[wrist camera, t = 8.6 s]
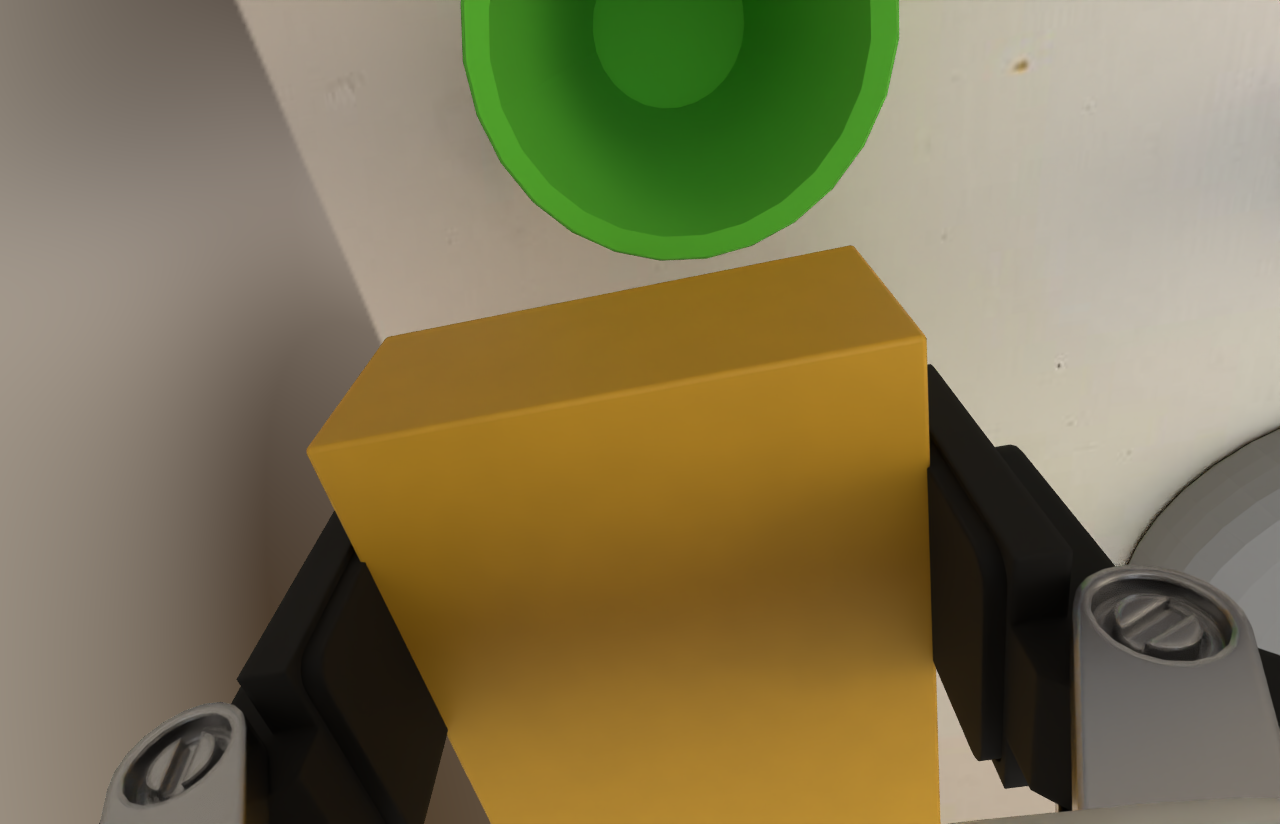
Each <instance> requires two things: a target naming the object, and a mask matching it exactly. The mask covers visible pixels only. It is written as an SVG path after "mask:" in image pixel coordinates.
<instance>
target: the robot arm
mask: <svg viewBox="0 0 1280 824" xmlns="http://www.w3.org/2000/svg"><path fill="white" fill-rule="evenodd" d="M927 374H928V409H929V444H930V467H928V468H927V484H928V516H929V549H930V581H931V614H932V646H933V662H934V664H935V667H936V669H937V671H938V674H939V676H940V678H941V681H942V683H943V685H944V688H945V690H946V693H947V695H948V697H949V700H950V702H951V704H952V707H953V709H954V711H955V714H956V716H957V718H958V721H959V723H960V725H961V728H962V730H963V732H964V735H965V737H966V739H967V742H968V744H969V746H970V749H971V751H972V753H973V755H974V756H975V758H976V759H977V760H978V761H984V760H992V762H993V764H994V766H995V768H996V770H997V773H998V775H999V777H1000V779H1001V782H1002V784H1003V786H1004V788H1005V789H1006V788H1015V787H1023V786H1029V788H1030V790H1032V791H1034V792H1036V793H1038V794H1040V795H1042V796H1043V797H1045V798H1047V799H1049V800H1051V801H1053V802H1055V813H1046V814H1036V815H1025V816H1015V817H1005V818H995V819H985V820H976V821H968V822H959V823H950V824H1280V655H1278V654H1275V653H1272V652H1269V651H1266V650H1263V649H1260V648H1258V646H1257V643H1256V639H1255V635H1254V631H1253V628H1252V626H1251V624H1250V622H1249V620H1248V618H1247V616H1246V614H1245V612H1244V610H1243V609H1242V608H1241V607H1240V606H1239V605H1238V604H1237V603H1236V602H1235V601H1234V600H1233V599H1231V598H1230V597H1229V596H1228V595H1227V594H1226V593H1225V592H1223V591H1221V590H1220V589H1218V588H1216V587H1215V586H1213V585H1211V584H1210V583H1208V582H1206V581H1205V580H1203V579H1200V578H1197V577H1195V576H1192V575H1189V574H1187V573H1184V572H1181V571H1179V570H1174V569H1169V568H1164V567H1159V566H1154V565H1122V566H1116V567H1115V565H1114V564H1113V563H1112V562H1111V560H1110V559H1109V558H1108V557H1107V556H1106V554H1105V553H1104V552H1103V551H1102V549H1101V548H1100V547H1099V546H1098V544H1097V543H1096V542H1095V541H1094V539H1093V538H1092V537H1091V536H1090V535H1089V533H1088V532H1087V531H1086V530H1085V528H1084V527H1083V526H1082V525H1081V523H1080V522H1079V521H1078V520H1077V518H1076V517H1075V516H1074V515H1073V514H1072V512H1071V511H1070V510H1069V509H1068V507H1067V506H1066V505H1065V504H1064V502H1063V501H1062V500H1061V499H1060V497H1059V496H1058V495H1057V494H1056V493H1055V491H1054V490H1053V489H1052V488H1051V486H1050V485H1049V484H1048V483H1047V481H1046V480H1045V479H1044V478H1043V476H1042V475H1041V474H1040V473H1039V472H1038V470H1037V469H1036V468H1035V467H1034V465H1033V464H1032V463H1031V462H1030V460H1029V459H1028V458H1027V457H1026V455H1025V454H1024V453H1023V452H1022V451H1021V450H1020V449H1019V448H1018V447H1017V446H1014V445H1005V446H999V447H994V446H993V444H992V443H991V442H990V440H989V439H988V438H987V436H986V435H985V434H984V433H983V431H982V430H981V429H980V427H979V426H978V425H977V423H976V422H975V421H974V419H973V418H972V417H971V415H970V414H969V413H968V411H967V410H966V409H965V407H964V406H963V405H962V404H961V402H960V401H959V400H958V398H957V397H956V396H955V394H954V393H953V392H952V390H951V389H950V388H949V386H948V385H947V384H946V382H945V381H944V380H943V378H942V377H941V376H940V374H939V373H938V372H937V371H936V369H935V368H934V367H933V366H932V365H931V364H928V365H927ZM237 680H238V682H239V684H240V685H241V687H240V689H239V691H238V693H237V694H236V696H235V698H234V700H233V701H232V703H231V704H227V703H223V702H218V703H209V704H203V705H200V706H197V707H194V708H191V709H188V710H186V711H183V712H181V713H179V714H178V715H176V716H174V717H172V718H171V719H168V720H167V721H165V722H163V723H162V724H161V725H159V726H158V727H157V728H155V729H154V730H152V731H151V732H150V733H148V734H147V735H146V736H144V737H143V739H141V740H140V742H138V744H137V745H135V747H134V748H133V749H132V750H130V752H129V753H128V754H127V755H126V756H125V758H124V759H123V760H122V762H121V763H120V765H119V766H118V768H117V769H116V770H115V772H114V774H113V777H112V779H111V782H110V784H109V787H108V789H107V794H106V798H105V803H104V807H103V812H102V816H101V820H100V823H99V824H424V821H425V818H426V813H427V810H428V806H429V802H430V798H431V794H432V791H433V787H434V783H435V779H436V775H437V771H438V767H439V763H440V759H441V756H442V752H443V748H444V744H445V740H446V736H447V732H448V728H447V726H446V724H445V722H444V720H443V718H442V716H441V714H440V712H439V710H438V708H437V706H436V704H435V702H434V700H433V698H432V696H431V694H430V692H429V690H428V688H427V686H426V684H425V682H424V680H423V678H422V676H421V674H420V672H419V670H418V668H417V666H416V664H415V662H414V660H413V658H412V656H411V654H410V652H409V650H408V648H407V646H406V644H405V642H404V640H403V638H402V636H401V634H400V631H399V629H398V627H397V625H396V623H395V621H394V619H393V617H392V615H391V613H390V611H389V609H388V607H387V605H386V603H385V601H384V599H383V597H382V595H381V593H380V591H379V589H378V587H377V585H376V583H375V581H374V579H373V577H372V575H371V573H370V571H369V569H368V567H367V565H366V563H365V562H360V560H359V558H358V556H357V554H356V552H355V550H354V548H353V546H352V544H351V542H350V540H349V538H348V536H347V534H346V532H345V530H344V528H343V526H342V524H341V522H340V520H339V518H338V516H337V514H336V512H335V511H334V512H333V514H332V516H331V518H330V519H329V521H328V523H327V525H326V526H325V528H324V530H323V531H322V533H321V535H320V536H319V538H318V540H317V542H316V544H315V545H314V547H313V549H312V550H311V552H310V554H309V555H308V557H307V559H306V561H305V562H304V564H303V566H302V568H301V569H300V571H299V573H298V575H297V576H296V578H295V580H294V581H293V583H292V585H291V586H290V588H289V590H288V592H287V593H286V595H285V597H284V599H283V600H282V602H281V604H280V606H279V607H278V609H277V611H276V612H275V614H274V616H273V618H272V619H271V621H270V623H269V624H268V626H267V628H266V630H265V631H264V633H263V635H262V636H261V638H260V640H259V642H258V644H257V645H256V647H255V649H254V650H253V652H252V654H251V656H250V658H249V659H248V661H247V662H246V664H245V666H244V667H243V669H242V671H241V673H240V674H239V676H238V678H237Z"/></svg>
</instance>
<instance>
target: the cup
mask: <svg viewBox="0 0 1280 824" xmlns="http://www.w3.org/2000/svg"><path fill="white" fill-rule="evenodd" d="M461 24H462V52H463V64H464V67H465V71H466V75H467V79H468V83H469V87H470V91H471V95H472V98H473V102H474V106H475V110H476V114H477V117H478V119H479V121H480V123H481V125H482V127H483V129H484V131H485V133H486V134H487V136H488V138H489V140H490V142H491V144H492V146H493V148H494V150H495V152H496V154H497V156H498V158H499V160H500V162H501V164H502V165H503V166H504V167H505V169H506V170H507V171H508V172H509V174H510V175H511V176H512V177H513V178H514V180H515V181H516V182H517V183H518V184H519V186H520V187H521V188H522V189H523V191H524V192H525V193H526V194H527V195H528V197H529V198H530V199H531V200H532V201H533V203H535V204H536V205H537V206H539V207H540V208H541V209H542V210H544V211H545V212H546V213H548V214H549V215H550V216H552V217H553V218H554V219H555V220H557V221H558V222H559V223H561V224H562V225H563V226H564V227H566V228H567V229H568V230H570V231H571V232H572V233H575V234H577V235H579V236H581V237H584V238H586V239H588V240H590V241H592V242H595V243H597V244H599V245H601V246H603V247H606V248H608V249H610V250H612V251H614V252H619V253H624V254H629V255H634V256H640V257H645V258H650V259H655V260H660V261H661V260H684V259H707V258H710V257H714V256H717V255H721V254H724V253H728V252H731V251H735V250H738V249H742V248H746V247H749V246H752V245H754V244H756V243H758V242H760V241H761V240H763V239H765V238H767V237H769V236H771V235H772V234H774V233H776V232H778V231H780V230H781V229H783V228H785V227H787V226H789V225H791V224H792V223H794V222H795V221H797V220H798V219H799V218H800V217H801V216H802V215H803V214H805V213H806V212H807V211H808V210H809V209H810V208H811V207H812V206H814V205H815V204H816V203H817V202H818V201H819V200H820V199H822V198H823V197H824V196H825V195H826V194H827V193H828V192H829V191H831V190H832V189H833V188H834V186H835V185H836V183H837V182H838V181H839V179H840V178H841V177H842V175H843V174H844V173H845V171H846V170H847V168H848V167H849V166H850V164H851V163H852V162H853V160H854V159H855V158H856V156H857V155H858V153H859V152H860V151H861V149H862V148H863V147H864V145H865V143H866V141H867V138H868V136H869V134H870V132H871V129H872V127H873V125H874V123H875V120H876V118H877V116H878V114H879V112H880V109H881V107H882V105H883V103H884V100H885V98H886V96H887V93H888V88H889V83H890V78H891V74H892V69H893V64H894V60H895V55H896V50H897V45H898V41H899V0H461Z"/></svg>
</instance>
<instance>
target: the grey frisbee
mask: <svg viewBox="0 0 1280 824" xmlns="http://www.w3.org/2000/svg"><path fill="white" fill-rule="evenodd" d="M1128 565H1154V566H1159V567H1164V568H1169V569H1174V570H1179V571H1181V572H1184V573H1187V574H1189V575H1192V576H1195V577H1197V578H1200V579H1203V580H1205V581H1206V582H1208V583H1210V584H1211V585H1213V586H1215V587H1216V588H1218V589H1220V590H1221V591H1223V592H1225V593H1226V594H1227V595H1228V596H1229V597H1230V598H1231V599H1233V600H1234V601H1235V602H1236V603H1237V604H1238V605H1239V606H1240V607H1241V608H1242V609H1243V610H1244V612H1245V614H1246V616H1247V618H1248V620H1249V622H1250V624H1251V626H1252V628H1253V631H1254V635H1255V639H1256V643H1257V646H1258V648H1260V649H1263V650H1266V651H1269V652H1272V653H1275V654H1278V655H1280V429H1278V430H1276V431H1274V432H1272V433H1270V434H1268V435H1266V436H1264V437H1262V438H1259V439H1257V440H1255V441H1253V442H1251V443H1249V444H1248V445H1246V446H1244V447H1243V448H1241V449H1240V450H1238V451H1236V452H1235V453H1233V454H1232V455H1230V456H1229V457H1227V458H1225V459H1224V460H1222V461H1221V462H1219V463H1217V464H1216V465H1214V466H1213V467H1212V468H1210V469H1209V470H1208V471H1207V472H1205V473H1204V474H1203V475H1202V476H1201V477H1199V478H1198V479H1197V480H1196V481H1194V482H1193V483H1192V484H1191V485H1189V486H1188V487H1187V488H1186V489H1184V490H1183V491H1182V492H1181V493H1180V494H1179V495H1178V496H1177V497H1176V498H1175V499H1174V500H1173V502H1172V503H1171V504H1170V505H1169V506H1168V507H1167V508H1166V509H1165V510H1164V511H1163V512H1162V513H1161V514H1160V515H1159V516H1158V517H1157V519H1156V520H1155V521H1154V523H1153V524H1152V526H1151V527H1150V528H1149V530H1148V531H1147V533H1146V534H1145V535H1144V537H1143V538H1142V540H1141V541H1140V542H1139V544H1138V546H1137V548H1136V550H1135V552H1134V554H1133V556H1132V558H1131V560H1130V562H1129V564H1128Z"/></svg>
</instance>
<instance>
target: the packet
mask: <svg viewBox="0 0 1280 824" xmlns="http://www.w3.org/2000/svg"><path fill="white" fill-rule="evenodd" d="M307 455H308V457H309V459H310V461H311V463H312V465H313V467H314V469H315V472H316V474H317V476H318V477H319V480H320V481H321V483H322V486H323V487H324V490H325V492H326V494H327V496H328V497H329V500H330V502H331V504H332V506H333V508H334V510H335V512H336V514H337V516H338V518H339V520H340V522H341V524H342V526H343V528H344V530H345V532H346V534H347V536H348V538H349V540H350V542H351V544H352V546H353V548H354V550H355V552H356V554H357V556H358V558H359V560H360V562H365V563H366V565H367V567H368V569H369V571H370V573H371V575H372V577H373V579H374V581H375V583H376V585H377V587H378V589H379V591H380V593H381V595H382V597H383V599H384V601H385V603H386V605H387V607H388V609H389V611H390V613H391V615H392V617H393V619H394V621H395V623H396V625H397V627H398V629H399V631H400V634H401V636H402V638H403V640H404V642H405V644H406V646H407V648H408V650H409V652H410V654H411V656H412V658H413V660H414V662H415V664H416V666H417V668H418V670H419V672H420V674H421V676H422V678H423V680H424V682H425V684H426V686H427V688H428V690H429V692H430V694H431V696H432V698H433V700H434V702H435V704H436V706H437V708H438V710H439V712H440V714H441V716H442V718H443V720H444V722H445V724H446V726H447V728H448V732H447V736H448V738H449V740H450V742H451V744H452V746H453V748H454V750H455V752H456V754H457V756H458V758H459V760H460V762H461V764H462V766H463V768H464V770H465V772H466V774H467V776H468V778H469V780H470V782H471V784H472V786H473V788H474V790H475V792H476V794H477V796H478V798H479V800H480V802H481V804H482V806H483V808H484V810H485V812H486V814H487V816H488V818H489V820H490V822H491V824H940V795H939V760H938V725H937V690H936V667H935V664H934V662H933V646H932V614H931V581H930V549H929V516H928V484H927V468H928V467H930V444H929V409H928V374H927V339H926V337H925V335H924V334H923V332H922V331H921V330H920V329H919V327H918V326H917V325H916V324H915V322H914V321H913V320H912V319H911V317H910V316H909V315H908V314H907V312H906V311H905V310H904V309H903V307H902V306H901V305H900V304H899V302H898V301H897V300H896V298H895V297H894V296H893V295H892V293H891V292H890V291H889V290H888V288H887V287H886V286H885V285H884V283H883V282H882V281H881V280H880V278H879V277H878V276H877V275H876V273H875V272H874V271H873V270H872V268H871V267H870V266H869V265H868V263H867V262H866V261H865V260H864V258H863V257H862V256H861V255H860V253H859V252H858V251H857V250H856V248H855V247H854V246H845V247H840V248H835V249H830V250H825V251H820V252H815V253H810V254H805V255H800V256H795V257H790V258H784V259H779V260H774V261H769V262H764V263H759V264H754V265H749V266H744V267H739V268H734V269H729V270H724V271H719V272H714V273H709V274H704V275H699V276H694V277H689V278H683V279H678V280H673V281H668V282H663V283H658V284H653V285H648V286H643V287H638V288H633V289H628V290H623V291H618V292H613V293H608V294H603V295H598V296H593V297H588V298H582V299H577V300H572V301H567V302H562V303H557V304H552V305H547V306H542V307H537V308H532V309H527V310H522V311H517V312H512V313H507V314H502V315H497V316H492V317H487V318H481V319H476V320H471V321H466V322H461V323H456V324H451V325H446V326H441V327H436V328H431V329H426V330H421V331H416V332H411V333H406V334H401V335H396V336H391V337H387V338H386V339H385V340H384V342H383V343H382V344H381V346H380V347H379V349H378V350H377V352H376V353H375V354H374V356H373V357H372V358H371V360H370V361H369V363H368V364H367V365H366V367H365V368H364V370H363V371H362V372H361V374H360V375H359V377H358V378H357V379H356V381H355V382H354V383H353V385H352V386H351V388H350V389H349V391H348V392H347V393H346V395H345V396H344V398H343V399H342V400H341V402H340V403H339V404H338V406H337V407H336V409H335V410H334V411H333V413H332V414H331V416H330V417H329V418H328V420H327V421H326V423H325V424H324V425H323V427H322V428H321V430H320V431H319V432H318V434H317V435H316V437H315V438H314V439H313V441H312V442H311V444H310V445H309V446H308V448H307Z"/></svg>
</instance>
